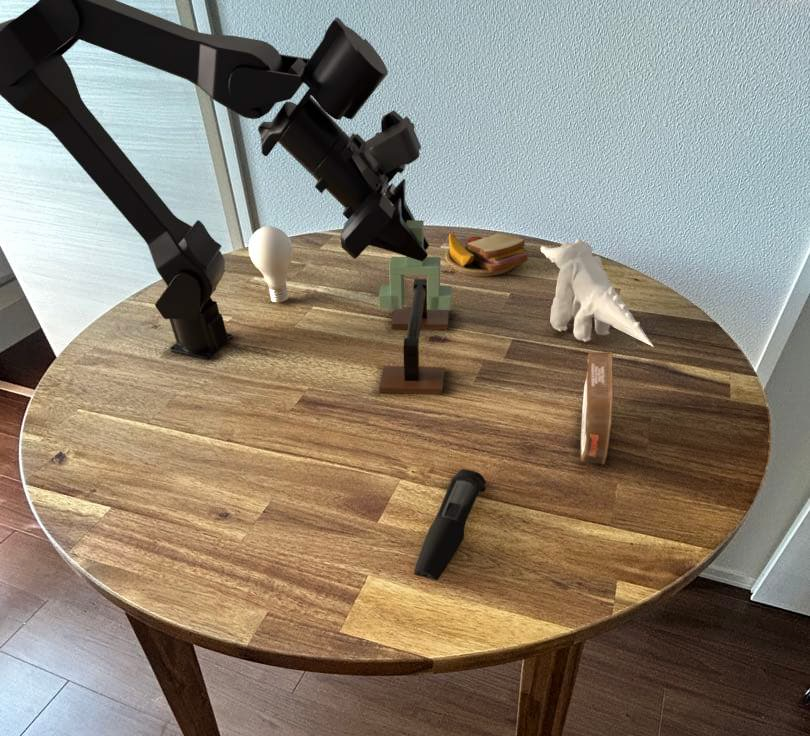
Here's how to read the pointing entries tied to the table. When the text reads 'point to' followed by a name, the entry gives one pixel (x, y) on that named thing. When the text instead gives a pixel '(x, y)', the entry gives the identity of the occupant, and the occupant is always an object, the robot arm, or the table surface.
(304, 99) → the robot arm
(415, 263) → the green stepped block figure
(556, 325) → the toy dinosaur
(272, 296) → the lightbulb
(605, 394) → the brown product box
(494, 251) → the toy sandwich meal
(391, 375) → the toy hurdle
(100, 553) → the table surface
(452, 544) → the electric trimmer
